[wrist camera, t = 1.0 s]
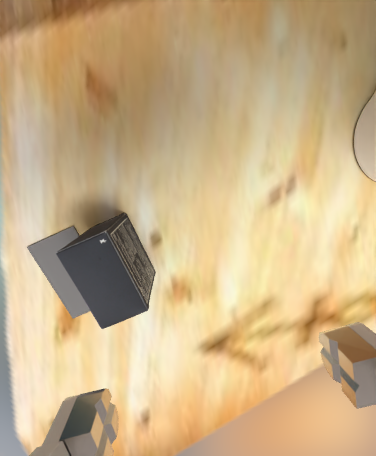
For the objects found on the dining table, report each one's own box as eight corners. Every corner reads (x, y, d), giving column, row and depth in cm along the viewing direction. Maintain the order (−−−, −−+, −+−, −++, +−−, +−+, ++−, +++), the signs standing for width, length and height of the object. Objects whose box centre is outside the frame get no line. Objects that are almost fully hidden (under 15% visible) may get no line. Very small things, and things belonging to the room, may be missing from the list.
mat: (73, 225, 35) (72, 226, 35) (116, 298, 38) (115, 299, 38) (28, 246, 35) (26, 247, 35) (73, 317, 38) (72, 318, 38)
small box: (85, 229, 35) (50, 252, 25) (126, 211, 35) (106, 227, 25) (119, 289, 38) (99, 332, 28) (157, 272, 38) (151, 310, 27)
